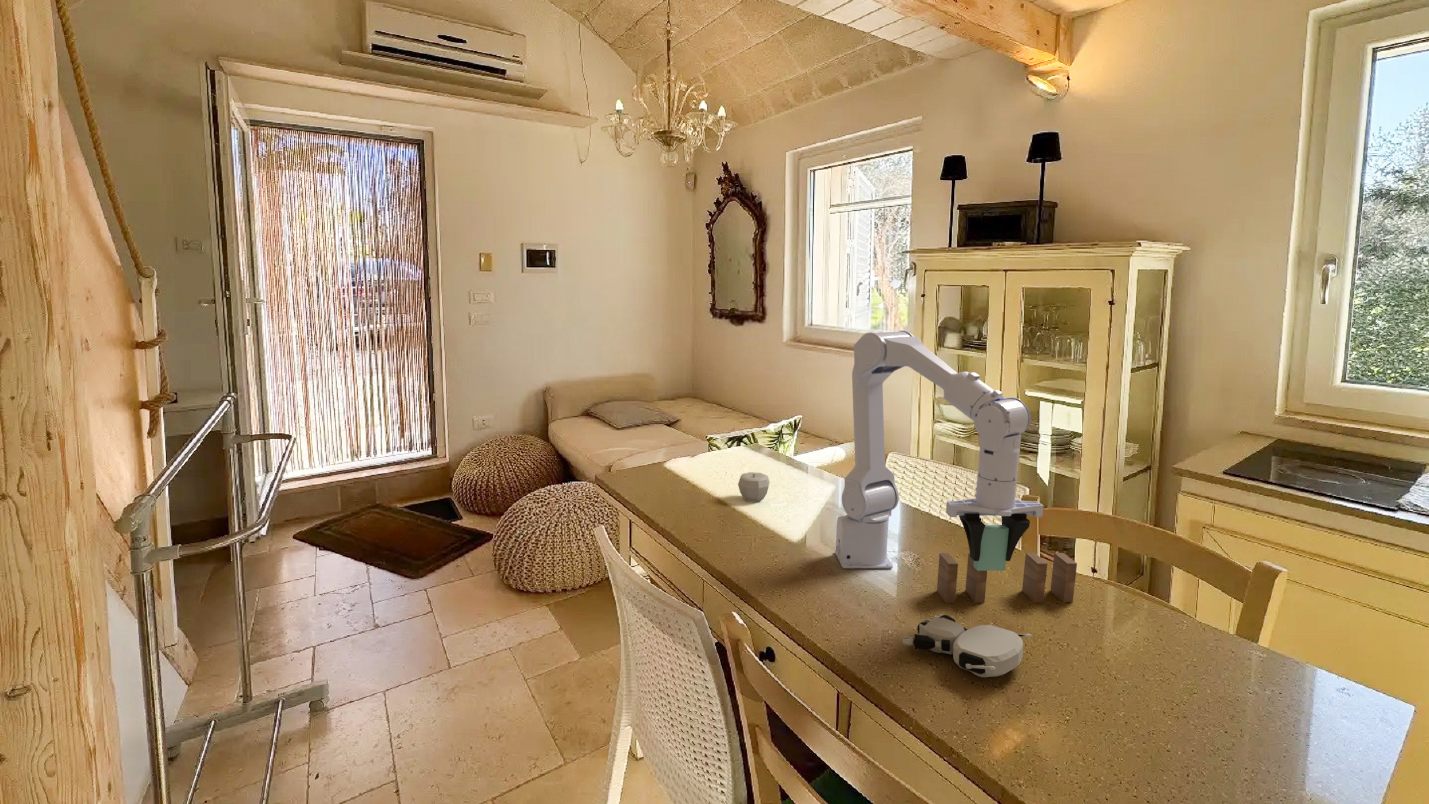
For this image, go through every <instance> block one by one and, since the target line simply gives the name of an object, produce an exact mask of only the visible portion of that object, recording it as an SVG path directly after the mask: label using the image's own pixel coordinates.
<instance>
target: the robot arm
mask: <svg viewBox="0 0 1429 804" xmlns="http://www.w3.org/2000/svg"><path fill="white" fill-rule="evenodd" d="M853 355H854V356H853V360H854V361H853V363H854V364H853V368H852V372H851V378H852V380H851V381H852V382H851V383H852V386H851V387H852V408H853V409H852V412H853V413H852V414H853V415H852V416H853V431H854V432H853V437H854V439H853V440H854V464H855V465H854V467H853V468H852V469H851V470H850V472H849V473H848V474H847V475H846V476H845V477H844V486H843V487H844V488H843V490H842V494H841V505H842V508H843V510H844V512H845V513H846V515H839V516H838V517H837V520H836V530H835V531H836V534H835V550H834V553H835V555H836V557H837V559H838V561H839V564H840V566H841V568H842V569H893V567H894V566H893V564H892V562H891V560H890V559H889V558H888V555H887V554H888V553H887V551H888V538H889V537H888V535H889V533H888V532H889V518H890V517H891V516H892V511H893V510H895V509H896V507H897V506H898V504H899V501H900V500H899V499H900V496H899V491H898V488H897V486H896V485H897V484H896V481H895V473H894V472H892V471H891V470H890V469H889V468H888V467H887V466H886V458H885V455H886V454H885V453H886V452H885V451H886V450H885V449H886V448H885V420H884V391H883V390H884V387H883V385H884V382H885V381H886V380H887V379H888V378H889V377H890V376H891V375H892V374H893V373H894V372H896V371H897V370H899V369H900V370H901V369H902V368H905V367H909V368H911V370H913V371H914V372H917V373H918V374H920V375H921V376H922V377H924V378H926V379H928V381H930V382H932V383H933V384H934V385H936V386H937V387H938V388H940V389H942V391H943V399H944V400H945V401H946V402H947V403H949V404H950V405H952V406H953V407H954V408H956V409H957V410H958V411H960V412H961V413H962V414H963V415H965V416H966V417H967V418H969V419H970V420H971V421H973V425H974V428H975V431H976V433H977V434H978V445H979V454H978V466H977V476H976V477H977V478H976V489H975V490H976V491H975V497H974V498H969V499H968V498H967V499H962V500H961V499H960V500H952V501H949V500H947V501H946V508H945V509H946V510H945V513H946V514H947V515H948V516H949V517H950V518H956V517H957V516H958V518H959V521H960V522H961V524H962V526H963V529H964V532H965V535H966V540H967V544H968V551H969V553H970V557H971V558H972V559H973V560H974V561H979V559H980V550H981V540H982V535H983V531H984V528H985V526H986V525H987V524H985V523H984V522H983V521H982V518H981V517H980V516H982V517H983V516H988V517H989V516H997V517H998V516H999V517H1001V525H1005V526H1006V527H1007V528H1009V533H1008V543H1007V553H1006V562H1010V561H1012V556H1013V554H1014V552H1015V549H1016V547H1017V545H1018V543H1019V541H1020V540H1021V538H1022V536H1023V535H1024V534H1025V533H1026V531H1027V530H1029V528H1030V525H1031V521H1030V519H1029V518H1027V516H1029V517H1030V516H1033V517H1035V518H1043V513H1044V512H1043V511H1044V504H1042V503H1041V502H1039V501H1033V500H1032V501H1031V500H1021V499H1016V495H1017V494H1016V493H1017V483H1018V473H1019V472H1018V471H1019V464H1020V463H1019V461H1020V454H1021V453H1020V452H1021V442H1022V441H1021V440H1022V434H1024V432H1026V431H1027V430H1028V429H1029V427H1030V424H1031V411H1030V409H1029V408H1028V406H1027V405H1026V404H1025V402H1023V401H1022V400H1021V399H1020V398H1018V397H1015V396H1014V397H1005V396H1004V394H1003V393H1004V392H1002V391H1000V390H999V389H994V388H992V387H991V386H989V385H988V384H987V383H985V382H983V381H982V380H981V379H980V377H981V375H980V374H979V373H977V372H974V371H972V372H969V371H960V372H957V371H955V370H954V369H953V368H952V367H950V365H948V363H946V362H945V361H943V360H942V359H941V358H939V357H938V356H937V355H936V354H935V353H934V352H932V351H931V350H930V349H929V348H927V346H925V345H924V344H923V342H922V340H921V338H919V337H918V336H915V335H914V334H912V333H911V332H910V331H908V330H899V331H888V332H887V331H885V332H866V333H864V334H862V336H861V337H860V338H859V339H858V340H857V341H856V342H855V343H854V344H853Z"/></svg>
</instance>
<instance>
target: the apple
mask: <svg viewBox="0 0 1429 804" xmlns="http://www.w3.org/2000/svg"><path fill="white" fill-rule="evenodd" d="M769 485H770V478H769V476H768V475H767V474H764V473H761V472H755V471H753V472H745V473H742V474H741V475H740V477H739V480H738V483H737V486H738V490H739V492H740V494H741V496H742V498H743V499H745V501H748V502H754V503H755V502H756V503H757V502H762V501H763V499H765V497H766V495H767V493H768V491H769V487H770V486H769Z"/></svg>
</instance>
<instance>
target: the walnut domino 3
mask: <svg viewBox="0 0 1429 804" xmlns="http://www.w3.org/2000/svg"><path fill="white" fill-rule="evenodd" d="M1023 566H1024V568H1023V576H1022V577H1023V578H1022V579H1023V580H1022V589H1021V591H1022V593H1024V594H1025V595H1026V596H1027V598H1029V599H1030V600H1031V601H1032V602H1033V603H1034V604H1035V603H1036V602H1037V603H1039V604H1040V603H1041V604H1042V603H1043V604H1044V598H1045V590H1046V581H1047V571H1048V562H1047V561H1045V560H1044V559H1043V558H1041V556H1039V555H1038V554H1037V553H1035V552H1025V557H1024V565H1023ZM1037 603H1036V604H1037Z"/></svg>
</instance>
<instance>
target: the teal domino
mask: <svg viewBox="0 0 1429 804" xmlns="http://www.w3.org/2000/svg"><path fill="white" fill-rule="evenodd" d="M985 525H986V526H985V528H984V531H983V535H982V540H981V550H980V559H979V561H974V567H975V569H976V570H977V571H987V572H988V571H996V572H997V571H1000V572H1001V571H1006V564H1007V563H1006V562H1007V561H1006V553H1007V543H1008V533H1009V528H1007V527H1006V526H1005V525H1002V524H985Z"/></svg>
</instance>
